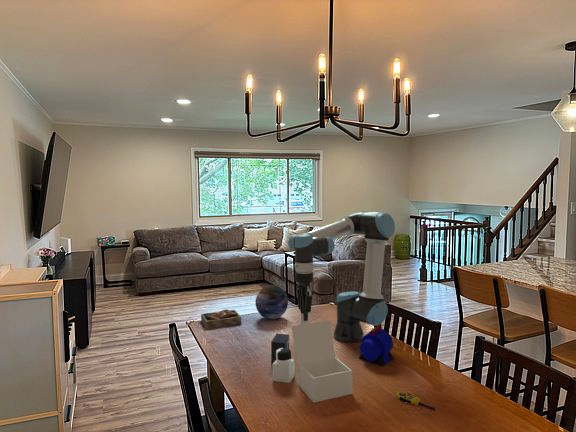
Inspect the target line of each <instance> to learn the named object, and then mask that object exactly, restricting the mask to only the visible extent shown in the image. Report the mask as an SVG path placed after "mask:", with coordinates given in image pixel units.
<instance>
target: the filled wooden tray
mask: <svg viewBox="0 0 576 432" xmlns="http://www.w3.org/2000/svg"><path fill="white" fill-rule="evenodd" d="M229 310H230V309H229ZM230 311H232V312H235V313H237V317H232V318H225V319H219V320H209V321H207V317H205V315H208V314H213V313H215V312H216V311H214V312H213V311H212V312H206V313H200V322H202V324H203V327H205V329H214V328H220V327H221V326H222V327H226V326H227V327H228V325H229V326H235V325H241V324H242V316H241V315H240V314H239V312H237V311H236V310H235V309H231V310H230Z"/></svg>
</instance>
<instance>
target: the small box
mask: <svg viewBox="0 0 576 432" xmlns="http://www.w3.org/2000/svg"><path fill="white" fill-rule="evenodd" d="M270 348H271V349H270V353H271V354H270V355H271V356H270V357H271V358H270V364H271V365H273V363H274V362H275V361H276V351H277V350H278V349H280V348H288V349H290V334H286V333H276V334H275V335H274V336H273V338H272V340H271V341H270Z"/></svg>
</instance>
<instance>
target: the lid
mask: <svg viewBox="0 0 576 432" xmlns="http://www.w3.org/2000/svg"><path fill="white" fill-rule="evenodd" d="M331 326H332V325H331V320H324V321H317V322H311V323H310V322H308V324H303V325H301V324H296V325H291V330H292V331H291V332H292V337H293V344H294V345H293V346H294V351H295V353H294V354H295V360H296V361H295V362H296V364H298V363H302V362H308V361H313V360H319V359H324V358H330V357H336V352H335V346H334V340H333V335H332V334H333V332H332V329H331V328H332V327H331Z"/></svg>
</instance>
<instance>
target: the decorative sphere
mask: <svg viewBox="0 0 576 432" xmlns="http://www.w3.org/2000/svg"><path fill="white" fill-rule="evenodd" d="M288 303H289V298H288V295H287V293H286V291H285V290H284V289H283V288H282V287H280V286H279V285H276V284H267V285H265V286H263V287H262V288H260V289H259V291H258V292H257V294H256V297H255V308H256V310H257V312H258V313H259V315H260V316H261V317H263V318H264V319H267V320H270V321H271V320H272V321H273V320H277V319H279V318H281V317H282V316H283V315H284V314H285V313H286V311H287V309H288V306H289V304H288Z"/></svg>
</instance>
